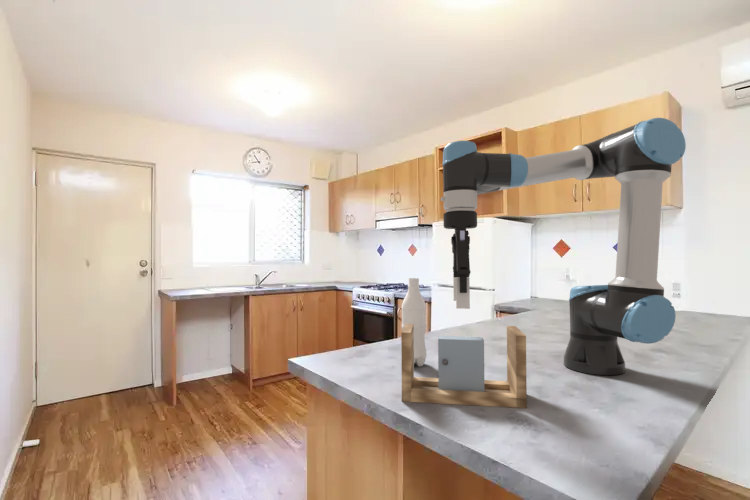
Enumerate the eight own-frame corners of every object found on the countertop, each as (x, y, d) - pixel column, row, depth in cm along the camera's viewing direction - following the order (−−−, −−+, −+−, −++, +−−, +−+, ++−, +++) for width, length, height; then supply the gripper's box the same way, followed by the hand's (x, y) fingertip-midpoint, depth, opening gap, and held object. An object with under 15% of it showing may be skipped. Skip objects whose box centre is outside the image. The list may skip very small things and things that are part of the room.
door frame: (516, 390, 93) (515, 326, 93) (526, 408, 82) (526, 335, 82) (405, 384, 97) (405, 323, 97) (401, 401, 86) (401, 332, 86)
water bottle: (425, 368, 110) (425, 279, 110) (400, 367, 112) (399, 279, 112) (427, 361, 117) (426, 277, 117) (403, 360, 119) (403, 277, 119)
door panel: (482, 389, 90) (482, 337, 90) (484, 396, 86) (484, 341, 86) (438, 387, 92) (438, 335, 92) (438, 394, 87) (438, 339, 88)
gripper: (442, 216, 103) (443, 297, 102) (444, 204, 78) (445, 312, 78) (472, 215, 102) (472, 298, 101) (483, 203, 77) (484, 312, 77)
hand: (461, 304), depth 90 cm, fingers open, 13 cm apart
